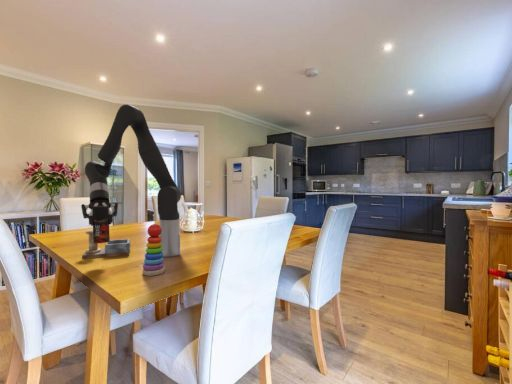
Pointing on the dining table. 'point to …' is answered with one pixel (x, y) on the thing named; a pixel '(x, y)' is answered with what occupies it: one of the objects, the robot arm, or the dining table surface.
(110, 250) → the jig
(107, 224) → the deodorant
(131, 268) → the dining table surface
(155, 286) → the dining table surface
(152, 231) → the stacking toy
